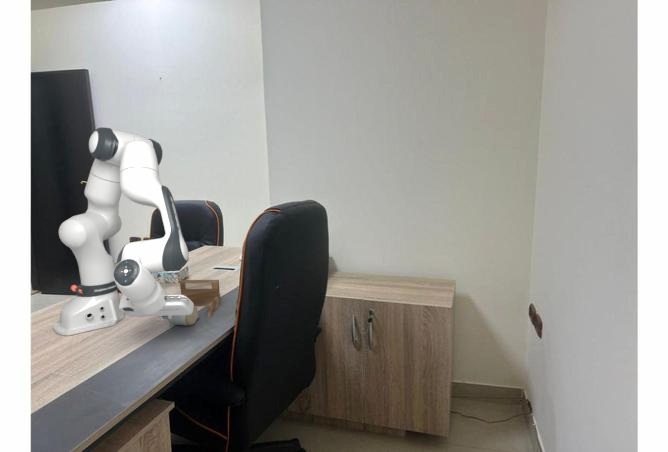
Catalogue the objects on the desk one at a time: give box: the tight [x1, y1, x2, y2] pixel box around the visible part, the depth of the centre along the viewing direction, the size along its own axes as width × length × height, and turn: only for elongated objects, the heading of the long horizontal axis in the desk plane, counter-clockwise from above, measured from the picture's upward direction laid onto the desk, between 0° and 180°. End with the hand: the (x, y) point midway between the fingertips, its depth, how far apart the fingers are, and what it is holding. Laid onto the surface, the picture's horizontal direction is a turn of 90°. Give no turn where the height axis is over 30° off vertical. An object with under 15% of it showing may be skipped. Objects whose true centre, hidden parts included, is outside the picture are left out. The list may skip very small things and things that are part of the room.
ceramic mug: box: [166, 306, 200, 327], centre depth 156 cm, size 11×8×8 cm
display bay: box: [179, 279, 221, 318], centre depth 167 cm, size 13×15×10 cm
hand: (167, 317), depth 141 cm, fingers closed
